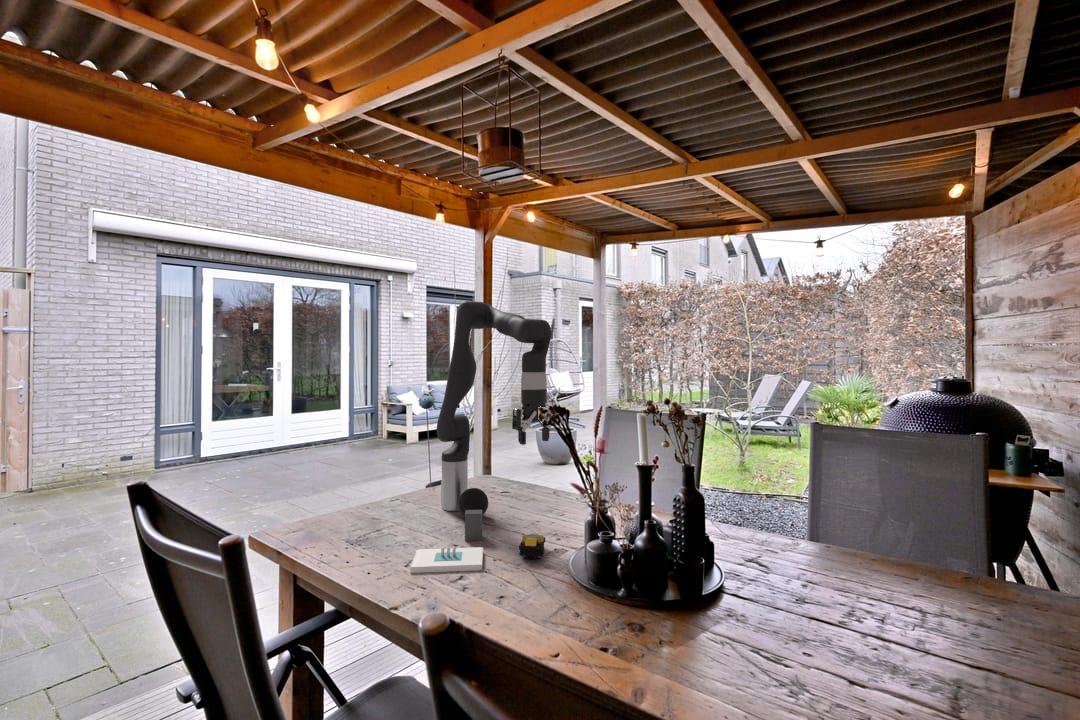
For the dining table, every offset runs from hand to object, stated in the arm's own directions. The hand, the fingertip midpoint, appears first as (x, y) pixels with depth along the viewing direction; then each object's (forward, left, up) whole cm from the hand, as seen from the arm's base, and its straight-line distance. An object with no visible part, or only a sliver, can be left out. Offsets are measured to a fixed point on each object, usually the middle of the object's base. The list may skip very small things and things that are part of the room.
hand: (534, 442), depth 155 cm
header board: (-3, -27, -29) cm, 40 cm away
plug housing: (-14, -12, -29) cm, 35 cm away
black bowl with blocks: (+7, -6, -30) cm, 31 cm away
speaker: (-31, -1, -29) cm, 42 cm away
